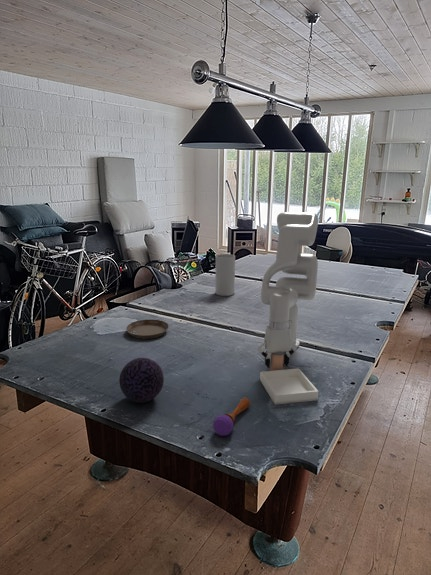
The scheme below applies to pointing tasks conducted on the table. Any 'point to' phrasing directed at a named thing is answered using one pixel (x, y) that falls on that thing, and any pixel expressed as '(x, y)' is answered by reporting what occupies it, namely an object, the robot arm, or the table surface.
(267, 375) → the tray
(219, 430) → the brown purple handled piece
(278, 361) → the cylinder
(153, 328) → the plant saucer
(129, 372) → the toy ball
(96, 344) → the table surface
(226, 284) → the cylinder vase
